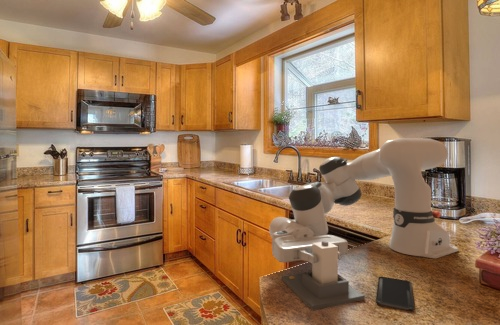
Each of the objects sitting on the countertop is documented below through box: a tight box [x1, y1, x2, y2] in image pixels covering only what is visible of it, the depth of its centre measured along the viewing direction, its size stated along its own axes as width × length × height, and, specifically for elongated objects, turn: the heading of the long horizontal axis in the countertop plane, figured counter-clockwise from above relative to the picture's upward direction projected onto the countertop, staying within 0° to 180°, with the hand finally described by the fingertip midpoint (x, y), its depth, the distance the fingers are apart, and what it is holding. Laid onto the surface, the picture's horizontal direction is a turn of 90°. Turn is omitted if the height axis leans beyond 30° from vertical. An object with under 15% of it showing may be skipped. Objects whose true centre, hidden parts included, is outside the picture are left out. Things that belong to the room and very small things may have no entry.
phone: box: [375, 276, 415, 313], centre depth 72 cm, size 8×1×15 cm
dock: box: [281, 271, 366, 311], centre depth 75 cm, size 14×16×4 cm
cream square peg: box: [311, 241, 339, 284], centre depth 73 cm, size 4×4×12 cm
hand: (326, 258), depth 72 cm, fingers open, 5 cm apart
